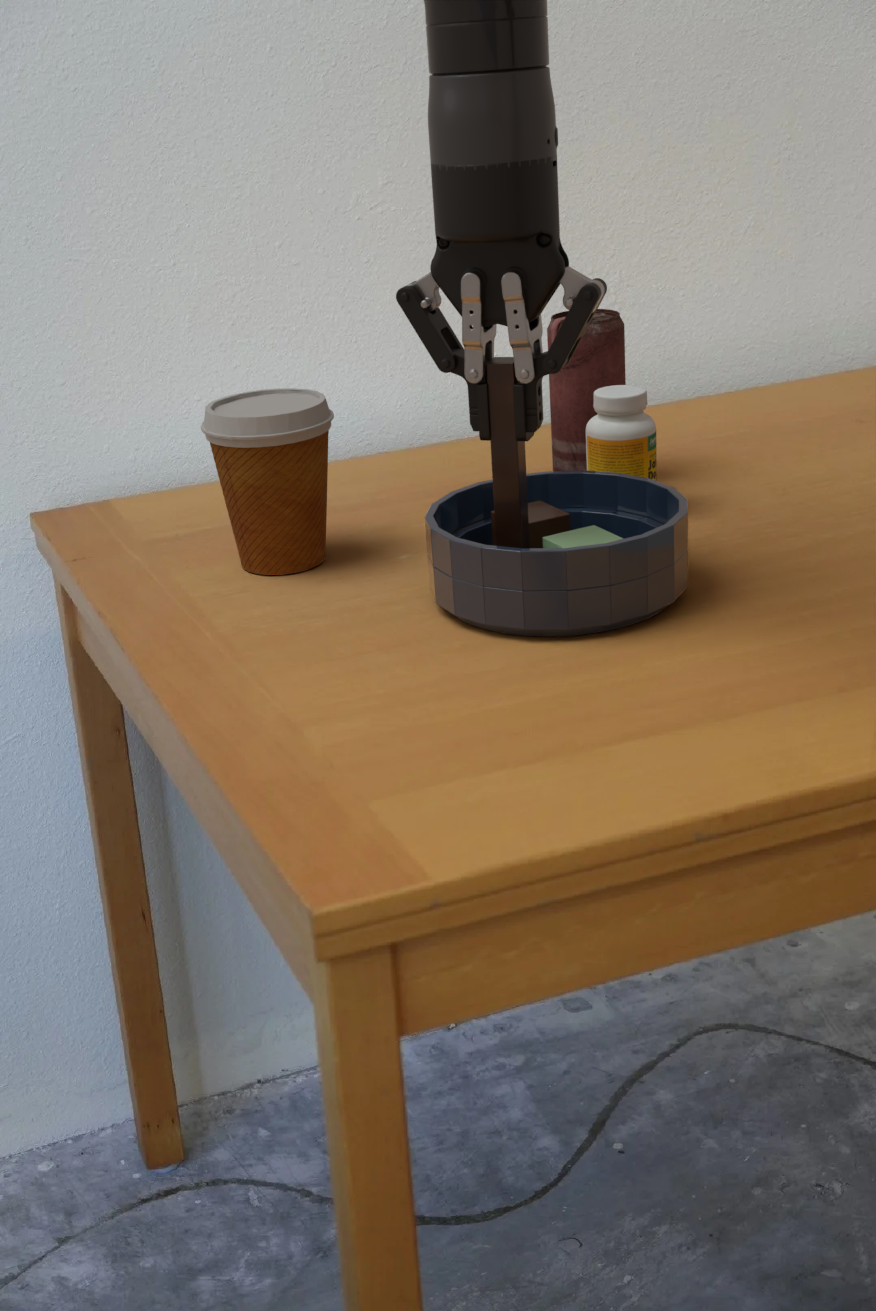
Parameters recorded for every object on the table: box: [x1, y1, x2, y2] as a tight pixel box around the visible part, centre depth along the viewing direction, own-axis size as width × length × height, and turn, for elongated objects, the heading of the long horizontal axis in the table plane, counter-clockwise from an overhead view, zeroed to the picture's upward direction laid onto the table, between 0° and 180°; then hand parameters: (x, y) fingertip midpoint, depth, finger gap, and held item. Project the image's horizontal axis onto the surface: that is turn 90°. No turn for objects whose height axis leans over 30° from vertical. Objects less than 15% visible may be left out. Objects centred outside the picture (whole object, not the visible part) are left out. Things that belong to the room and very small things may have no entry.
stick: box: [486, 356, 530, 549], centre depth 95 cm, size 2×2×14 cm
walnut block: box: [491, 500, 570, 548], centre depth 102 cm, size 4×4×4 cm
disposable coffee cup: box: [200, 387, 335, 576], centre depth 107 cm, size 10×10×12 cm
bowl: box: [424, 470, 689, 638], centre depth 99 cm, size 17×17×6 cm
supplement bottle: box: [586, 384, 658, 481], centre depth 113 cm, size 5×5×10 cm
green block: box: [542, 525, 623, 548], centre depth 96 cm, size 4×4×4 cm
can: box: [546, 308, 627, 471], centre depth 120 cm, size 6×6×14 cm
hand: (507, 436), depth 94 cm, fingers closed on stick, 2 cm apart
